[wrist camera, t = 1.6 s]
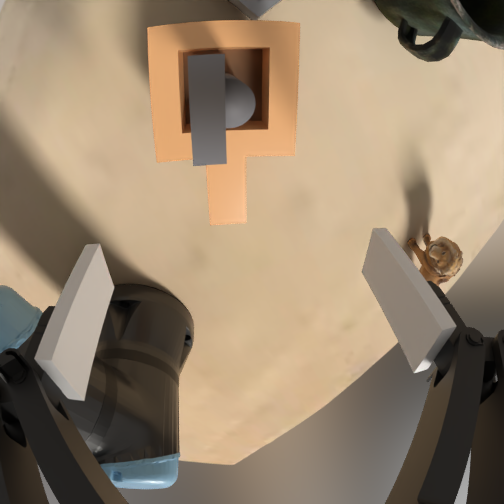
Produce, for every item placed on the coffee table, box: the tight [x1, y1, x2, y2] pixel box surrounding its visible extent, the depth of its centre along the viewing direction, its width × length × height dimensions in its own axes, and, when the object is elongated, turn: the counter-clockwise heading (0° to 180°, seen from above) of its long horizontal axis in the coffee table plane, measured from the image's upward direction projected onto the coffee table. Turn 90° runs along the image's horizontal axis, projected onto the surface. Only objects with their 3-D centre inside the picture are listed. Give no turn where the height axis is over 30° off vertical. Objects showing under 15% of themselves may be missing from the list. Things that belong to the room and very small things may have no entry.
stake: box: [183, 49, 262, 166], centre depth 17 cm, size 9×9×18 cm
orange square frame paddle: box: [147, 20, 300, 225], centre depth 19 cm, size 14×9×3 cm, turn 0°
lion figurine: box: [408, 234, 463, 286], centre depth 35 cm, size 15×5×9 cm, turn 5°
